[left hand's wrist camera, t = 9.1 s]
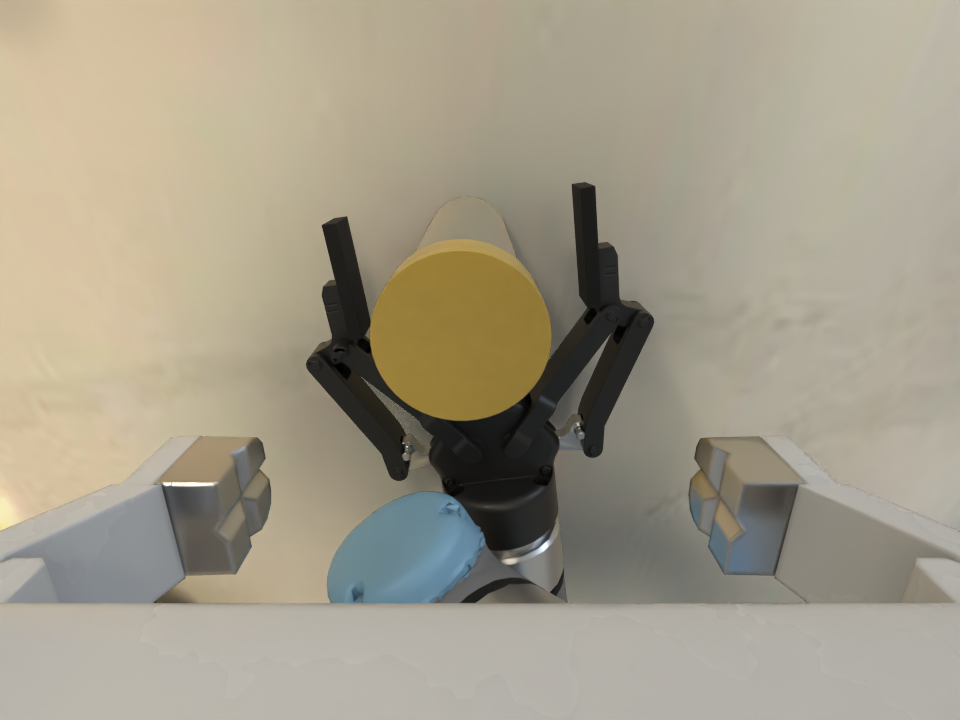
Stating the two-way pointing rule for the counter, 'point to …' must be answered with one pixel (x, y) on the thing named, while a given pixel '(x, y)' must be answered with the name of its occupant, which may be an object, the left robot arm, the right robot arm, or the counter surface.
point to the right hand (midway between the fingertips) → (457, 202)
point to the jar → (468, 224)
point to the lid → (461, 331)
